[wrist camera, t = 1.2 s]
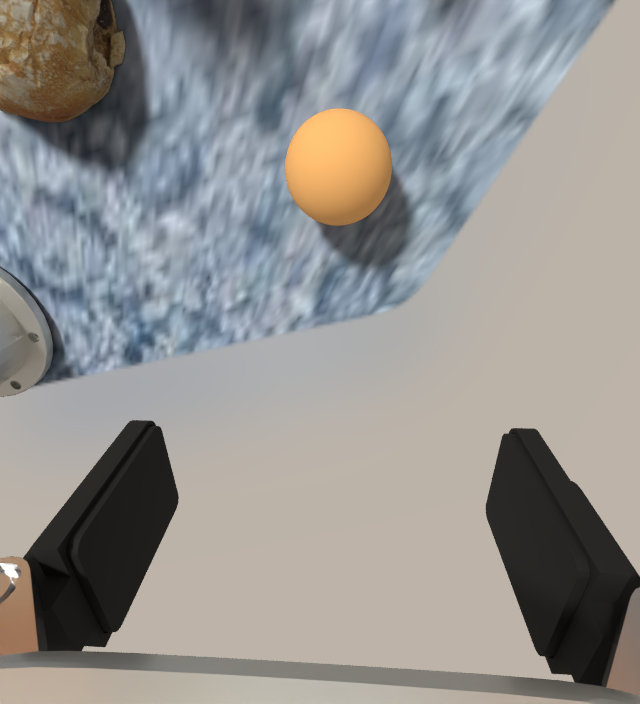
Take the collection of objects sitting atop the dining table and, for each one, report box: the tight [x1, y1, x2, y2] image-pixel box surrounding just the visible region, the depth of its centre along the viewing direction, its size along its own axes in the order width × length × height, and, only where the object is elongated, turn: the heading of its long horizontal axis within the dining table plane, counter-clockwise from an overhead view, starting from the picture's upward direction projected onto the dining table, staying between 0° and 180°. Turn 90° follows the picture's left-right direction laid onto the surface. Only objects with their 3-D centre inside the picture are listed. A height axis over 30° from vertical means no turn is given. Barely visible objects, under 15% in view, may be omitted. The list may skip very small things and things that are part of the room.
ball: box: [285, 109, 392, 226], centre depth 23 cm, size 6×6×6 cm
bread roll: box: [0, 0, 126, 122], centre depth 21 cm, size 10×10×8 cm
